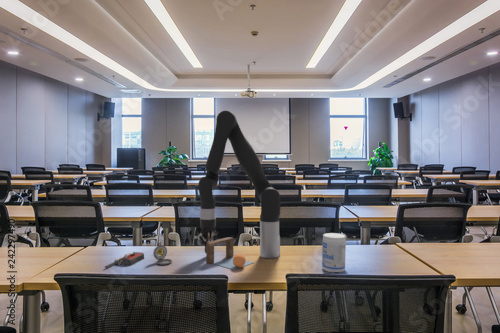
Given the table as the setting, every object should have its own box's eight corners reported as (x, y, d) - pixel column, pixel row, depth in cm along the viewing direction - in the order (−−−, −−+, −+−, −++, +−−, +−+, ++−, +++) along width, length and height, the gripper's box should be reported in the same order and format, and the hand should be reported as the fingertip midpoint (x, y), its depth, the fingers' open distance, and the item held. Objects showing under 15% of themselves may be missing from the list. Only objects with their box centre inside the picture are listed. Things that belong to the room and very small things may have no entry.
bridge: (206, 262, 153) (206, 242, 153) (228, 255, 164) (228, 237, 164) (210, 264, 151) (210, 243, 151) (233, 257, 162) (233, 238, 162)
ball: (245, 251, 147) (249, 264, 146) (238, 254, 151) (242, 266, 150) (235, 254, 144) (239, 267, 142) (228, 257, 148) (232, 270, 146)
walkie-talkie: (130, 257, 163) (102, 270, 144) (130, 248, 163) (102, 260, 144) (146, 258, 161) (121, 272, 142) (146, 249, 161) (121, 261, 142)
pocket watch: (167, 265, 149) (167, 243, 149) (150, 264, 150) (150, 242, 150) (175, 260, 157) (175, 239, 157) (158, 259, 158) (158, 238, 158)
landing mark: (233, 257, 161) (233, 257, 161) (253, 263, 153) (253, 262, 153) (212, 263, 152) (212, 263, 152) (233, 270, 143) (233, 269, 143)
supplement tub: (318, 270, 143) (318, 235, 143) (328, 264, 150) (328, 231, 150) (339, 275, 137) (339, 238, 137) (349, 269, 144) (349, 234, 144)
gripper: (202, 220, 156) (202, 257, 156) (223, 216, 166) (223, 252, 166) (192, 218, 161) (192, 254, 161) (212, 215, 171) (212, 249, 171)
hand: (208, 253), depth 163 cm, fingers closed
